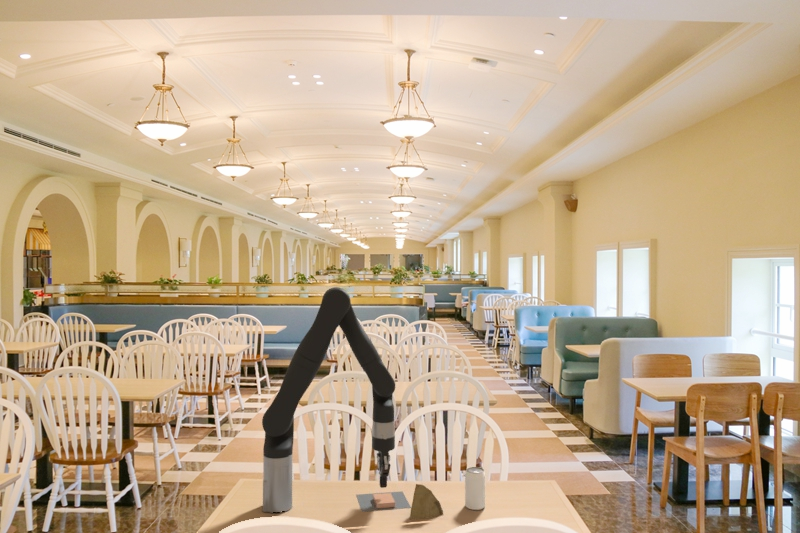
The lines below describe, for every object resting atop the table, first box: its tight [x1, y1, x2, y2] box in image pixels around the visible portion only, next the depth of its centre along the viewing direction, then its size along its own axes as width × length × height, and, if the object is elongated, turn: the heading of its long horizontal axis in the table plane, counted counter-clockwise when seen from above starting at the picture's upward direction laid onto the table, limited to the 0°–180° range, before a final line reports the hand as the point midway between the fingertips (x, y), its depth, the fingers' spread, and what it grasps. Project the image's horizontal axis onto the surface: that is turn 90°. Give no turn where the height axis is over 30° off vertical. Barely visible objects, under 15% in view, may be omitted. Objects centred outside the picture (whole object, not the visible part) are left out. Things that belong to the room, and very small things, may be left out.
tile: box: [372, 492, 395, 508], centre depth 192 cm, size 6×2×8 cm
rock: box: [409, 483, 444, 520], centre depth 183 cm, size 11×9×10 cm
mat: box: [355, 491, 412, 513], centre depth 194 cm, size 16×14×1 cm
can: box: [464, 466, 486, 511], centre depth 191 cm, size 6×6×12 cm
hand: (383, 486), depth 193 cm, fingers closed
